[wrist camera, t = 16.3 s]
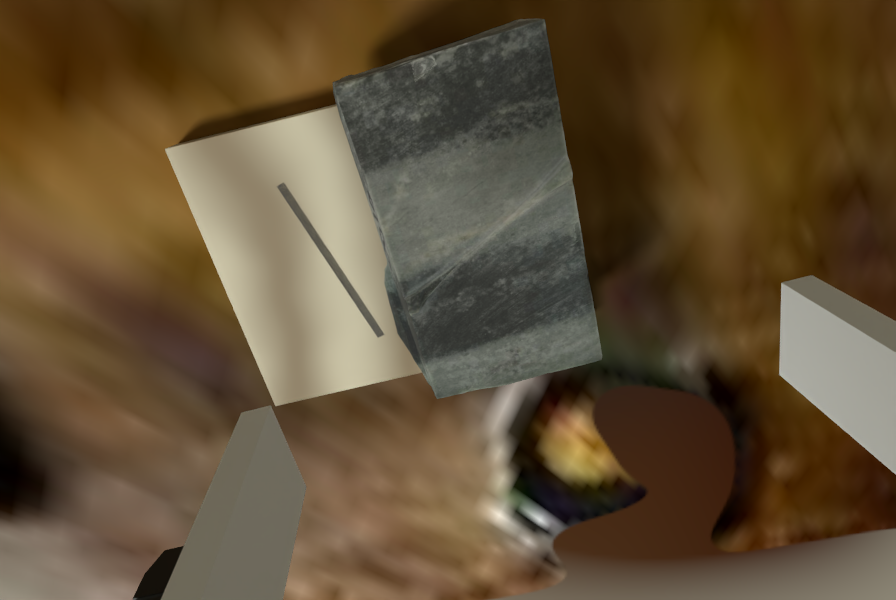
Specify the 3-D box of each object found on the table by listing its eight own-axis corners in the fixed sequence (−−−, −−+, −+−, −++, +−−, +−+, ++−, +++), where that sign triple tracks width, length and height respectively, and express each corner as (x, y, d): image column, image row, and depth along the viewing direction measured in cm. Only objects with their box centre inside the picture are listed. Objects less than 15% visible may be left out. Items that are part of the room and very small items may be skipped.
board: (281, 390, 32) (275, 405, 31) (177, 143, 26) (164, 149, 25) (576, 322, 31) (583, 335, 30) (535, 54, 26) (542, 54, 24)
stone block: (411, 359, 30) (410, 418, 25) (316, 78, 24) (291, 86, 19) (576, 316, 29) (607, 368, 25) (519, 18, 24) (545, 11, 19)
